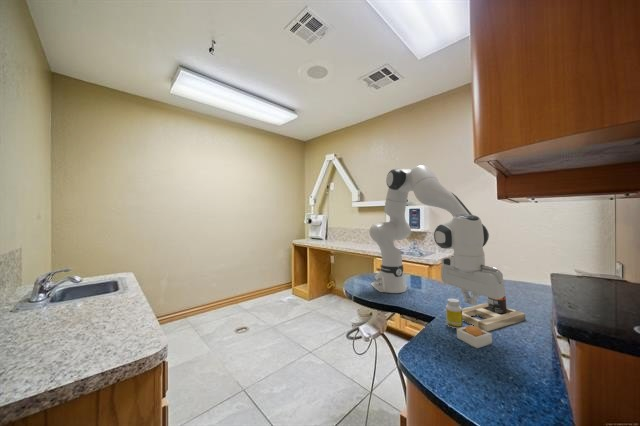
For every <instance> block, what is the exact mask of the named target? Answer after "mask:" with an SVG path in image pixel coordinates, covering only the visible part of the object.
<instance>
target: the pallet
mask: <svg viewBox="0 0 640 426" xmlns="http://www.w3.org/2000/svg"><path fill="white" fill-rule="evenodd" d="M506 308H507V313H506V314H502V315H500V314H497V313H494V312H492V311H489V307H488V302H484V303H481V304H480V303H479V304H476V305H471V306H468V307H463V308H462V320H464V321H466V322H468V323H470V324H469V325H471V324H472V326H473V325H474V326H476V327H479V328H480V329H481V330H484V331H486V332H490V331H494V330H497V329H500V328H505V327H506V326H510V325H513V324H517V323H519V322H520V323H521V322H522V321H523V322H524V321H526V313H524V312H522V311H518V310H516V309H513V308H509V307H507V306H506ZM474 315H478V316H477V317H479V316H480V317H479V318H481V317H482V318H481V319H482V320H481V319H479V318H475V316H474ZM471 316H473V317H471ZM464 321H463V322H464ZM466 322H465V323H466ZM468 323H467V324H468Z"/></svg>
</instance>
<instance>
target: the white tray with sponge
mask: <svg viewBox="0 0 640 426" xmlns="http://www.w3.org/2000/svg"><path fill="white" fill-rule="evenodd" d="M469 326H473V325H471V324H469ZM481 330H482V329H481ZM492 335H493V334H492V333H491V332H489V331H487V332H486V331H484V330H482V335H480V336H477V337H475V336H473V335H471V334H469V333H467V332H466V326H463V327H462V328H459V329H456V339H459V340H460V341H463V342H464V343H466V344H468V345H469V346H471V347H474V348H475V349H479V348H482V347H485V346H488V345H492V344H493V336H492Z"/></svg>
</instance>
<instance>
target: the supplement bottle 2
mask: <svg viewBox="0 0 640 426" xmlns="http://www.w3.org/2000/svg"><path fill="white" fill-rule="evenodd" d="M487 303H488V307H489V311H492V312H494V313H497V314H500V315H502V314H506V313H507V308H508V307H507V297H506V295H505V296H504V297H503V298H501V299H492V298H489V297H487ZM506 307H507V308H506Z"/></svg>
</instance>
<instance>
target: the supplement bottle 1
mask: <svg viewBox="0 0 640 426" xmlns="http://www.w3.org/2000/svg"><path fill="white" fill-rule="evenodd" d="M446 300H447V304H446V305H445V318H446V319H445V321H446V323H447V324H446V325H448V326H447V327H449V326H450V327H452V328H451V329H454V328H456V330H457V329H459V328H462V327H464V321H462V309H463V308H462V307H461V306H460V300H459V299H457V298H448V299H446ZM450 327H449V328H450Z"/></svg>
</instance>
